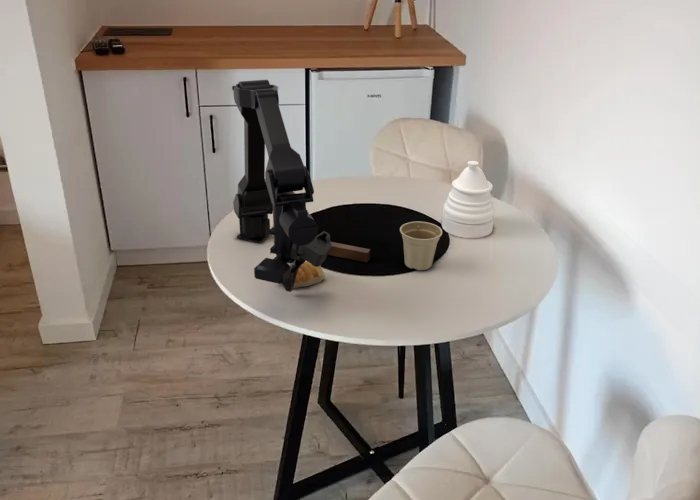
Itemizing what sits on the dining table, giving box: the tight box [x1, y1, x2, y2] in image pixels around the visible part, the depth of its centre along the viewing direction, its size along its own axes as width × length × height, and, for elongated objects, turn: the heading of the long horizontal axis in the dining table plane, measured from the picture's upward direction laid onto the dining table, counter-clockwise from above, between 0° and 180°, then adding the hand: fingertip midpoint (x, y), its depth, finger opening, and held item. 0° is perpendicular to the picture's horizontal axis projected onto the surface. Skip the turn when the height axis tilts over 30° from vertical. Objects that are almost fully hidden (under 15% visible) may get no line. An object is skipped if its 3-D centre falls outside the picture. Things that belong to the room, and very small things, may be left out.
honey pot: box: [441, 160, 496, 239], centre depth 169 cm, size 13×13×18 cm
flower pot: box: [399, 220, 443, 271], centre depth 153 cm, size 9×9×9 cm
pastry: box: [280, 261, 325, 289], centre depth 146 cm, size 9×7×4 cm
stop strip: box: [327, 241, 371, 263], centre depth 158 cm, size 20×2×2 cm, turn 69°
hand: (289, 290), depth 141 cm, fingers closed
